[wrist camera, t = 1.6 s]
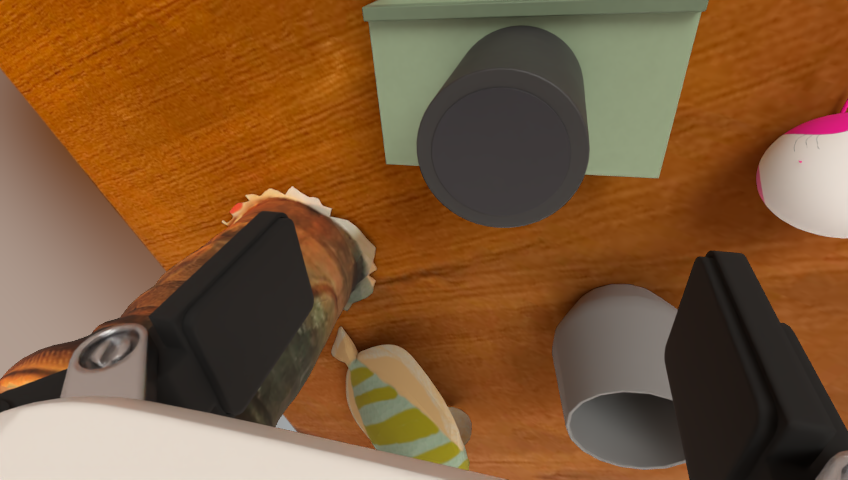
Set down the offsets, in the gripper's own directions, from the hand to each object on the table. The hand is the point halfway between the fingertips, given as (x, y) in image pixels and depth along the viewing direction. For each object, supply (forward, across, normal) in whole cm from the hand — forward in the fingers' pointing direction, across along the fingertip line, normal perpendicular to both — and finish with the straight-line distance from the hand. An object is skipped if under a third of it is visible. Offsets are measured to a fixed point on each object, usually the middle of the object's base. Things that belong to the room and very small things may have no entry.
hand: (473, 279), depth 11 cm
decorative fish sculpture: (+19, +9, +30) cm, 37 cm away
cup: (+19, -8, +18) cm, 27 cm away
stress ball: (+19, -16, +4) cm, 25 cm away
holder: (+13, 0, 0) cm, 13 cm away
